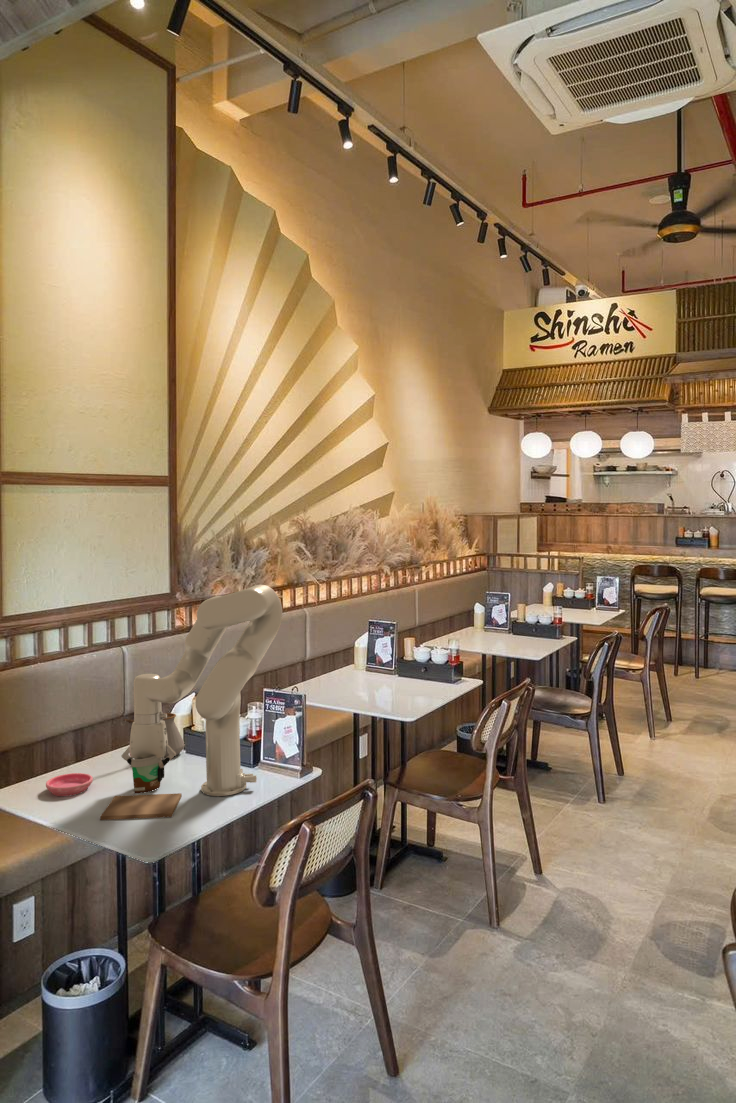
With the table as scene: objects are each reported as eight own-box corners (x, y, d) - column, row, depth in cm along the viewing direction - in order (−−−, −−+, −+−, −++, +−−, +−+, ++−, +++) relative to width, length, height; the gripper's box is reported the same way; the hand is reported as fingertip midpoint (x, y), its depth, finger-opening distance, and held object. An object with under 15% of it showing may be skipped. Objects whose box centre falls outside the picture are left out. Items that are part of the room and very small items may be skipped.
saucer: (78, 779, 224) (78, 769, 224) (101, 789, 216) (101, 778, 216) (37, 792, 214) (37, 781, 214) (60, 802, 207) (59, 791, 206)
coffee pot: (172, 746, 254) (170, 702, 253) (192, 753, 246) (190, 708, 246) (113, 763, 238) (112, 716, 238) (133, 771, 231) (131, 722, 230)
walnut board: (181, 796, 208) (181, 793, 208) (171, 817, 195) (171, 813, 194) (115, 799, 207) (114, 795, 207) (100, 820, 193) (100, 816, 193)
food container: (152, 796, 209) (151, 760, 209) (131, 795, 210) (130, 759, 210) (171, 780, 221) (170, 747, 221) (152, 779, 222) (151, 746, 222)
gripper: (181, 713, 219) (182, 775, 220) (120, 715, 218) (122, 776, 219) (176, 721, 212) (177, 784, 213) (113, 722, 211) (115, 786, 211)
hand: (149, 780), depth 216 cm, fingers closed on food container, 5 cm apart
